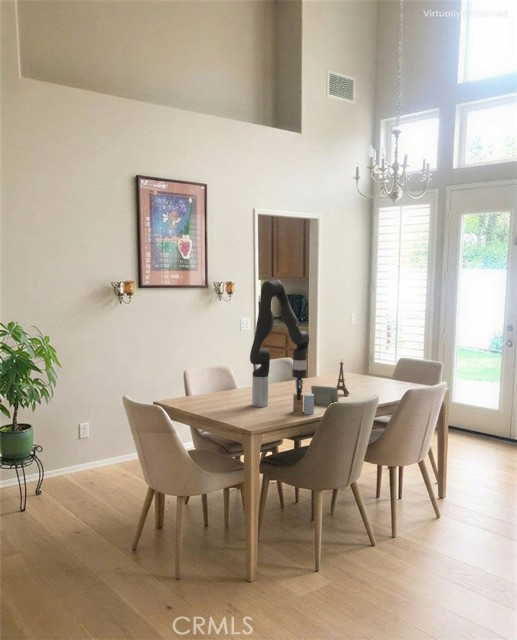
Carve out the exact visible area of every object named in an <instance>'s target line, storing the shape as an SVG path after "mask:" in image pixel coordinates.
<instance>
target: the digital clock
mask: <svg viewBox="0 0 517 640" xmlns="http://www.w3.org/2000/svg"><path fill="white" fill-rule="evenodd" d="M310 389H311V391H310V392H311V394H314V405H318V404H319V406H329V405H330V404H331V403H334V402H338V403H339V392H338V391H339V390H337V387H333V386H324V385H323V386H322V385H311V388H310ZM331 405H332V404H331ZM331 405H330V406H331Z"/></svg>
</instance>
